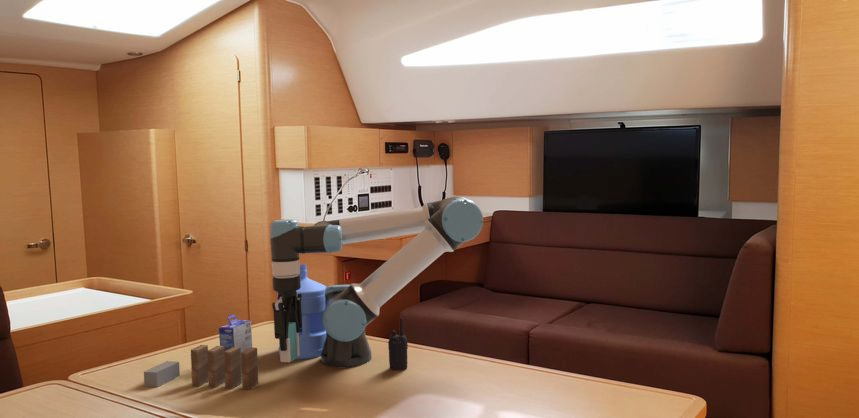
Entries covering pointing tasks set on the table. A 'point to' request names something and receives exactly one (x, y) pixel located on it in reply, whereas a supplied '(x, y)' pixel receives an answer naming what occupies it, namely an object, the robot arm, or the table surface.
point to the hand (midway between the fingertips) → (290, 358)
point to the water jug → (311, 316)
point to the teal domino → (292, 340)
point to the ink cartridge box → (236, 334)
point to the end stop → (161, 374)
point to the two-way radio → (398, 350)
